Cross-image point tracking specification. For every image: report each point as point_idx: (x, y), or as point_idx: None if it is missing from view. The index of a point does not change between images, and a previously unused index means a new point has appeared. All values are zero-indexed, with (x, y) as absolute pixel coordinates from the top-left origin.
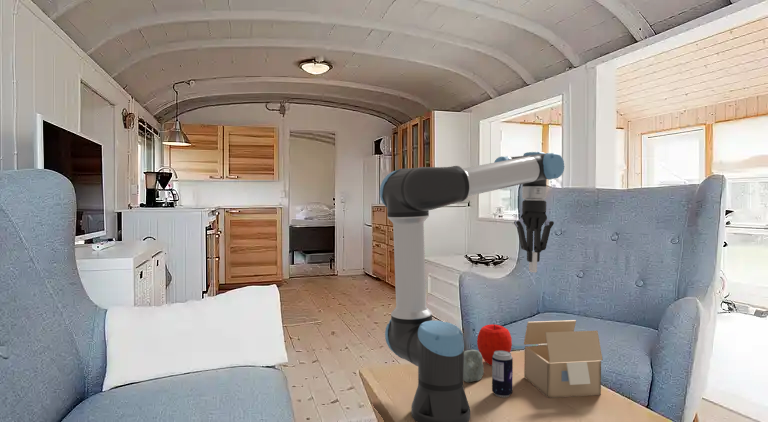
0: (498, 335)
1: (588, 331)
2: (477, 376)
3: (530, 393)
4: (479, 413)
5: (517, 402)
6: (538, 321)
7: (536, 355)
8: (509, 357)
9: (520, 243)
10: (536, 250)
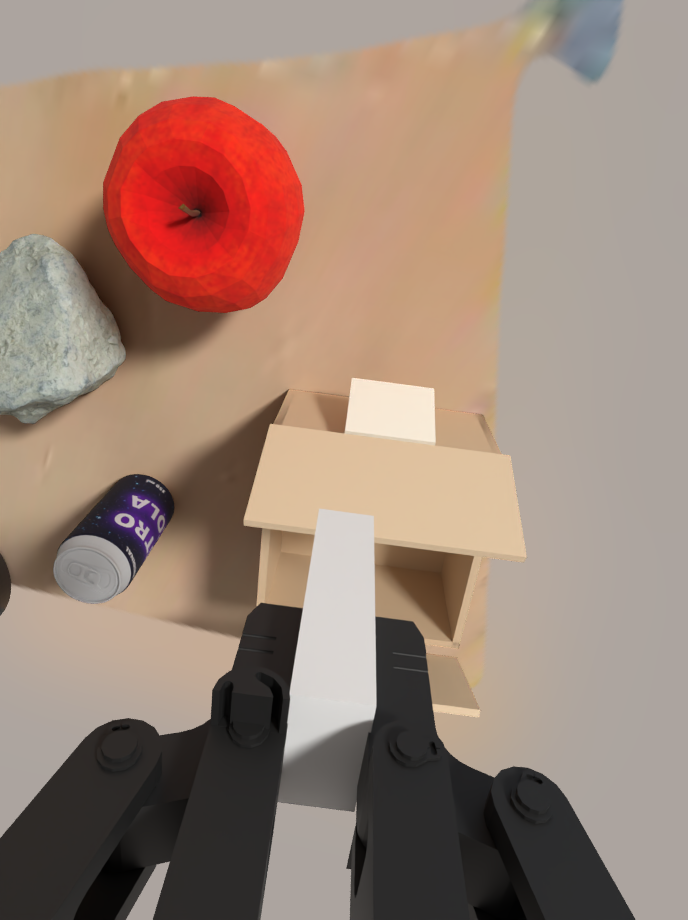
0: (182, 301)
1: (434, 710)
2: (87, 392)
3: (238, 513)
4: (41, 582)
5: (170, 554)
6: (306, 528)
7: (261, 538)
8: (108, 597)
9: (3, 847)
10: (356, 821)
